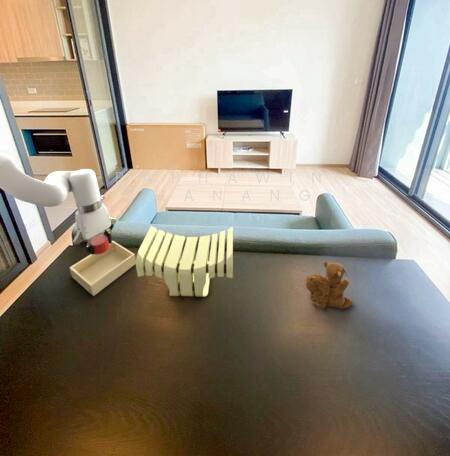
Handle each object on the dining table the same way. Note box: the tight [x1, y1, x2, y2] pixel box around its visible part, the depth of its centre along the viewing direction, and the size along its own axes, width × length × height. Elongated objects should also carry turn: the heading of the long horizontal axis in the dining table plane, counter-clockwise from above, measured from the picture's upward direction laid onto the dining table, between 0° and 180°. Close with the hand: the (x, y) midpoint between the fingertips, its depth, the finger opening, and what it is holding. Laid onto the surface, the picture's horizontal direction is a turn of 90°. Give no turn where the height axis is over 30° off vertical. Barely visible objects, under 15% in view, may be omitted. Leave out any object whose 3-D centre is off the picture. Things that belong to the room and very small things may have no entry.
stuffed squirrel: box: [304, 260, 353, 310], centre depth 78 cm, size 10×14×13 cm
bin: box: [69, 240, 136, 297], centre depth 92 cm, size 14×17×5 cm
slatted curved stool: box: [135, 225, 234, 297], centre depth 84 cm, size 30×16×18 cm, turn 88°
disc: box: [90, 234, 109, 255], centre depth 89 cm, size 6×6×4 cm
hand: (100, 246), depth 89 cm, fingers closed on disc, 6 cm apart
